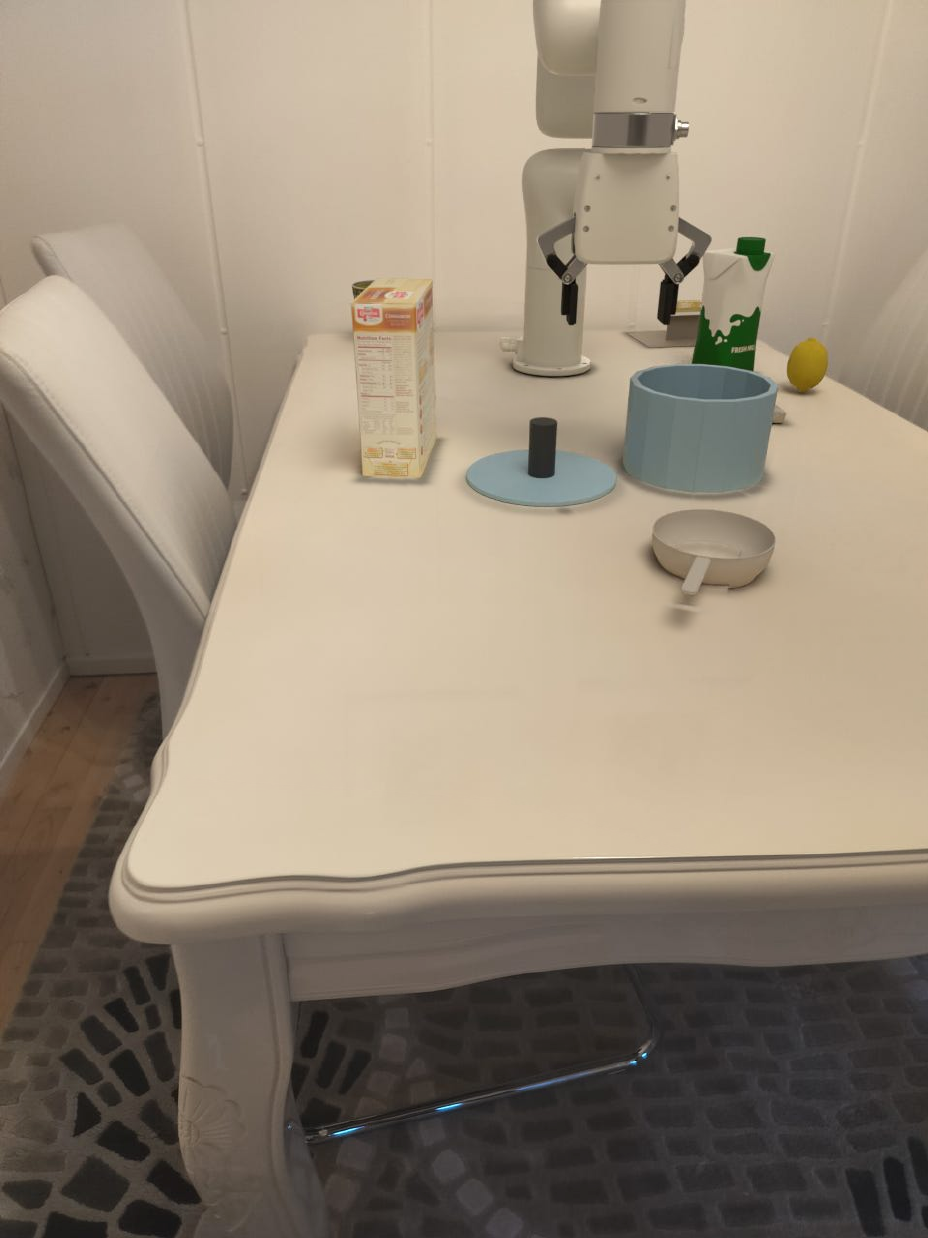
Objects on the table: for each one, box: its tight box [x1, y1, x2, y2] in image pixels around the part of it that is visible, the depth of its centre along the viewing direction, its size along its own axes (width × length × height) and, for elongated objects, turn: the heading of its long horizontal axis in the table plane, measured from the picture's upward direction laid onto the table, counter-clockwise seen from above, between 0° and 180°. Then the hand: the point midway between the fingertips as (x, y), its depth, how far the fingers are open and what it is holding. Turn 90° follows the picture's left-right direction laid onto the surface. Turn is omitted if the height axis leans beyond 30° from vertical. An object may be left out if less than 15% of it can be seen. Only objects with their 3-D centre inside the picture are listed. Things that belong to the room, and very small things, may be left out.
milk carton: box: [690, 236, 776, 372], centre depth 137 cm, size 9×9×20 cm
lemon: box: [786, 337, 829, 394], centre depth 130 cm, size 6×6×8 cm
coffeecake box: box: [349, 277, 437, 479], centre depth 102 cm, size 15×7×20 cm, turn 174°
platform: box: [627, 299, 701, 348], centre depth 162 cm, size 12×18×7 cm, turn 99°
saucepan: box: [651, 508, 777, 596], centre depth 77 cm, size 11×18×4 cm, turn 157°
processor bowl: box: [622, 363, 780, 494], centre depth 100 cm, size 16×16×10 cm
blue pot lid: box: [466, 416, 617, 507], centre depth 98 cm, size 17×17×7 cm
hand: (617, 322), depth 92 cm, fingers open, 9 cm apart
